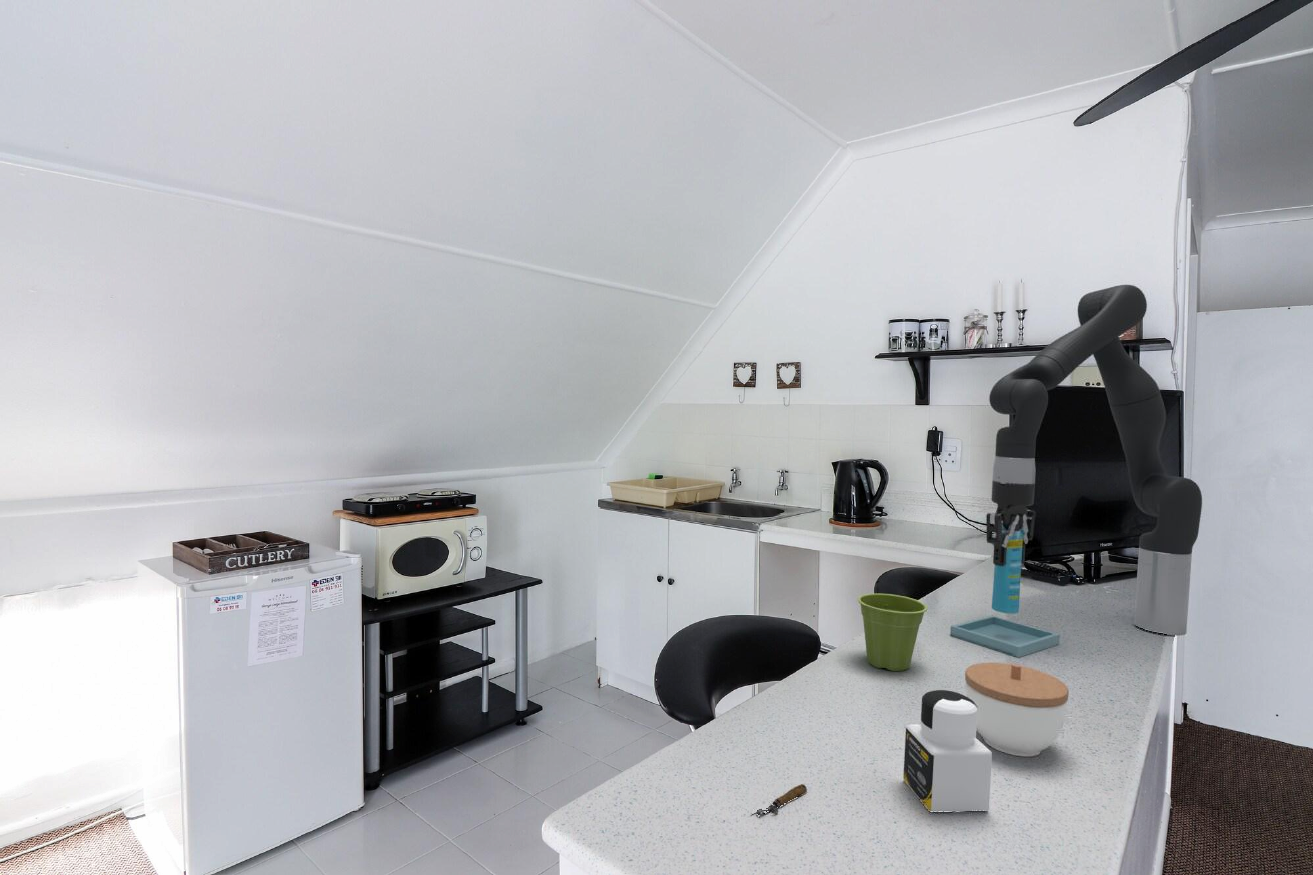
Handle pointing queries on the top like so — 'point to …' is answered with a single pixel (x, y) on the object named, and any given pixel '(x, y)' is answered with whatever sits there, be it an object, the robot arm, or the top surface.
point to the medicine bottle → (947, 755)
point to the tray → (1005, 636)
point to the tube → (1008, 577)
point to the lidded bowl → (1016, 707)
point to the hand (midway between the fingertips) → (1008, 563)
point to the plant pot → (890, 629)
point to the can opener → (785, 798)
